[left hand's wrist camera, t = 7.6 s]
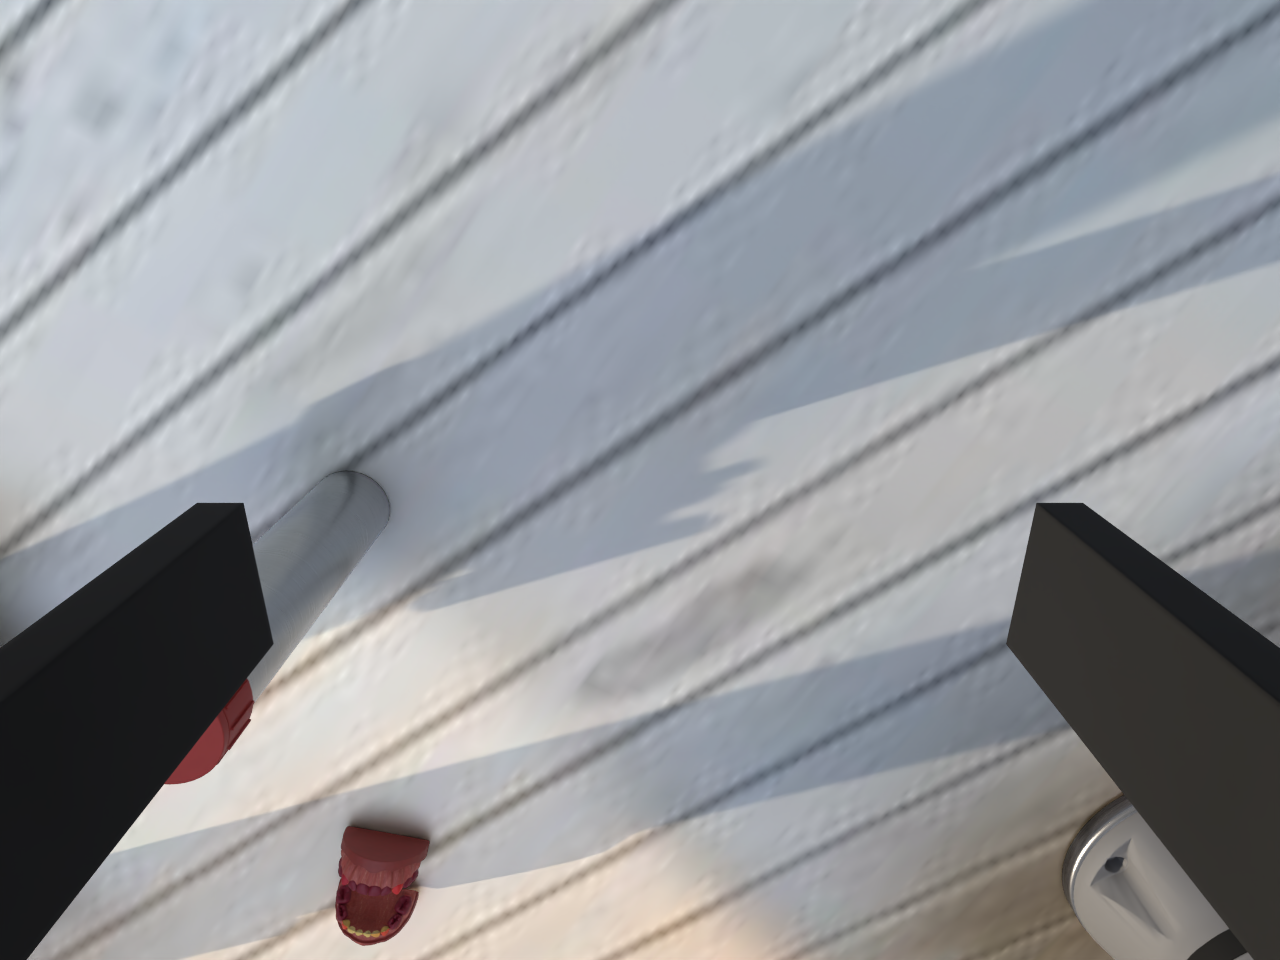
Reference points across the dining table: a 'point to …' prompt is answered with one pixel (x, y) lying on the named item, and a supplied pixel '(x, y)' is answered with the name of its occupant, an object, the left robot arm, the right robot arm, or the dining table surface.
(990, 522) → the dining table surface
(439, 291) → the dining table surface
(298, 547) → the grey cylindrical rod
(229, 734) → the lid
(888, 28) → the dining table surface
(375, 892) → the dental model
